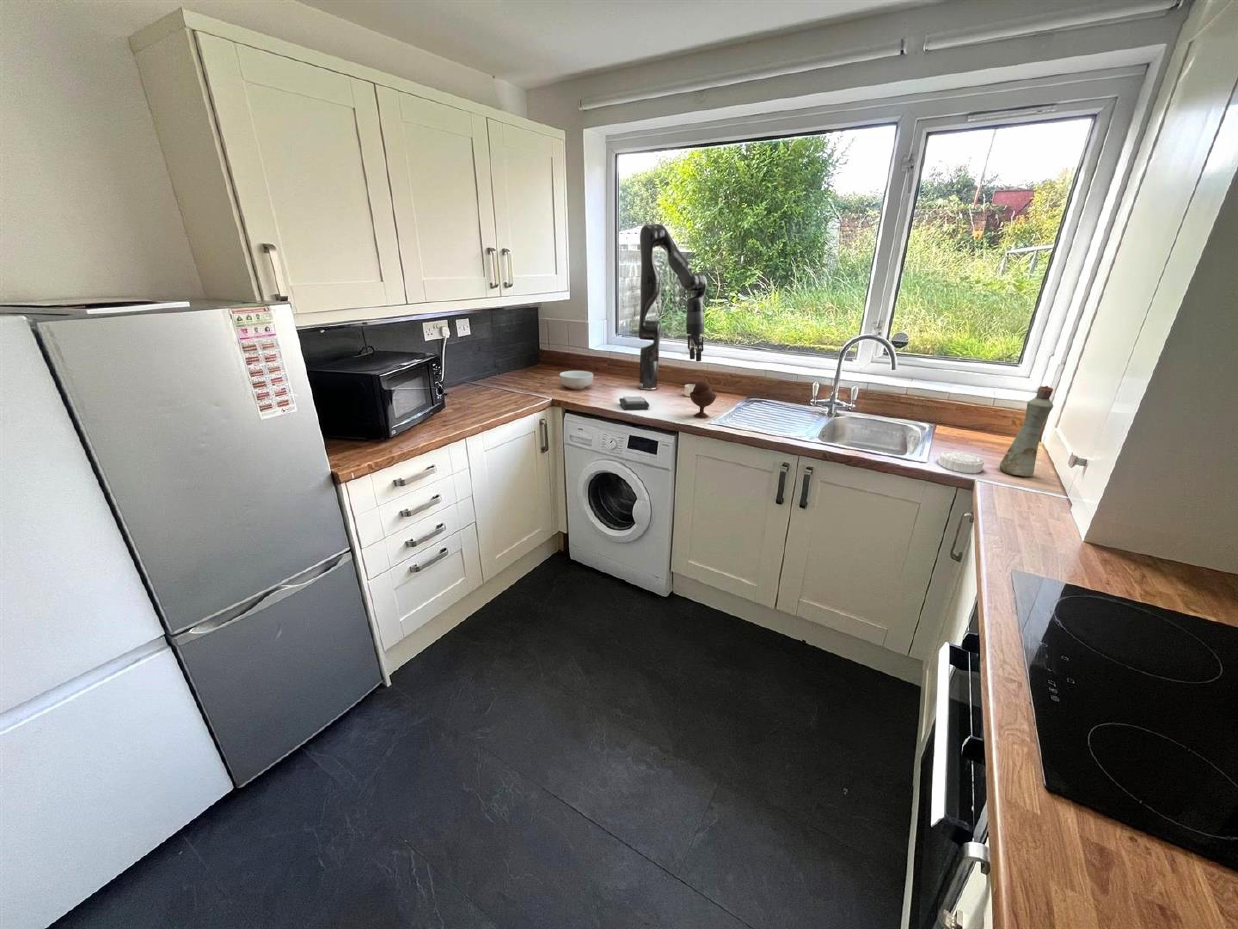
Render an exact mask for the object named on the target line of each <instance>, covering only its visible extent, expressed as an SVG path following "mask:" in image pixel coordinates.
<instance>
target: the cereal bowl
mask: <svg viewBox="0 0 1238 929" xmlns="http://www.w3.org/2000/svg"><path fill="white" fill-rule="evenodd" d="M559 381H560V383H561V384H562V385H563V386H564V387H567V388H568V389H570V390H584V389H585V388H586V387H588V386H591V384H592V383H593V381H594V373H593V372H591V371H587V370H567V371H562V372H560V373H559Z"/></svg>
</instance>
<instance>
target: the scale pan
mask: <svg viewBox="0 0 1238 929" xmlns="http://www.w3.org/2000/svg"><path fill="white" fill-rule="evenodd" d="M643 398H644V397H642V396H623V400H624V401H625V403H626V404H645V400H646V399H645V398H644V399H645V400H644V399H643Z"/></svg>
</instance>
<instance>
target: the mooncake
mask: <svg viewBox="0 0 1238 929" xmlns="http://www.w3.org/2000/svg"><path fill="white" fill-rule="evenodd" d="M937 464H939V465H940V466H941V467H943V468H945V469H947V470H950V471H955V472H959V473H964V474H965V473H966V474H976V473H977V474H978V473H981V472H982V470H983V468H984V465H985V461H984V460H983V459H982V458H981V457H979V456H977V455H974V454H971V453H966V452H964V451H963V452H962V451H956V450H950V451H948V450H947V451H942V452H941V453H939V457H938V461H937Z"/></svg>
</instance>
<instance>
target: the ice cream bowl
mask: <svg viewBox="0 0 1238 929" xmlns="http://www.w3.org/2000/svg"><path fill="white" fill-rule="evenodd" d="M694 385H695V387H694V389H693V392H691V393H690V397H689V398H690V400H691V401H692V403H693V404H694V405H695V406H697V407H699V412H696V413H695V414H694V417H695V418H699V419H707V418H708V417H709V415H708V414H707V413H706V412H705V408H706V407H709V406H711V405H712V404H713V403H714V402H715V401H716V399H717V396H718V394H717V393H715V392H714V391H713V390H712V388H711V384H709V383H708V382H707V381H706V380H699V381H697V382H696V383H695V384H694Z"/></svg>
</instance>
